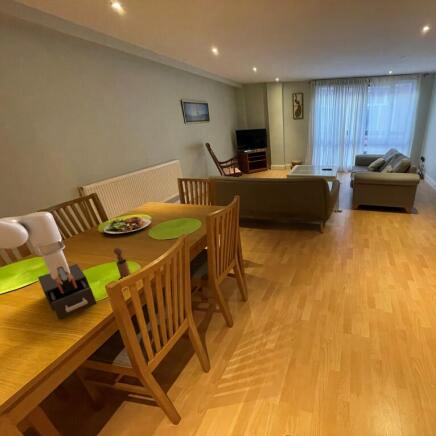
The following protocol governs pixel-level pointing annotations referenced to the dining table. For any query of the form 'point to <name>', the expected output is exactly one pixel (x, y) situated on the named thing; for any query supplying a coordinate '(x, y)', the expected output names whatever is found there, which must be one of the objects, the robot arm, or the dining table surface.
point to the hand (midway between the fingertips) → (67, 287)
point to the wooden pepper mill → (121, 263)
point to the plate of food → (127, 225)
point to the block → (60, 283)
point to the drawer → (72, 300)
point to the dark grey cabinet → (50, 284)
